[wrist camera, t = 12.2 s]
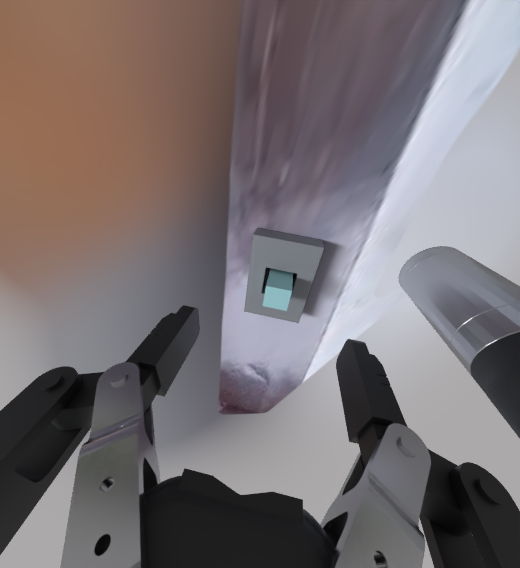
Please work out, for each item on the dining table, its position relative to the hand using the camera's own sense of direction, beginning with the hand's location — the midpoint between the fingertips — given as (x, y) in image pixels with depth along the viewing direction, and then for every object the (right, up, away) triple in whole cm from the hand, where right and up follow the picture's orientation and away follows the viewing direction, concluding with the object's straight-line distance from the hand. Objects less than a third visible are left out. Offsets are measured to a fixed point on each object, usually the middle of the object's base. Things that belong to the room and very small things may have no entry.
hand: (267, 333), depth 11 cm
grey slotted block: (+3, +5, +27) cm, 28 cm away
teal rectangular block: (+3, +5, +27) cm, 28 cm away
